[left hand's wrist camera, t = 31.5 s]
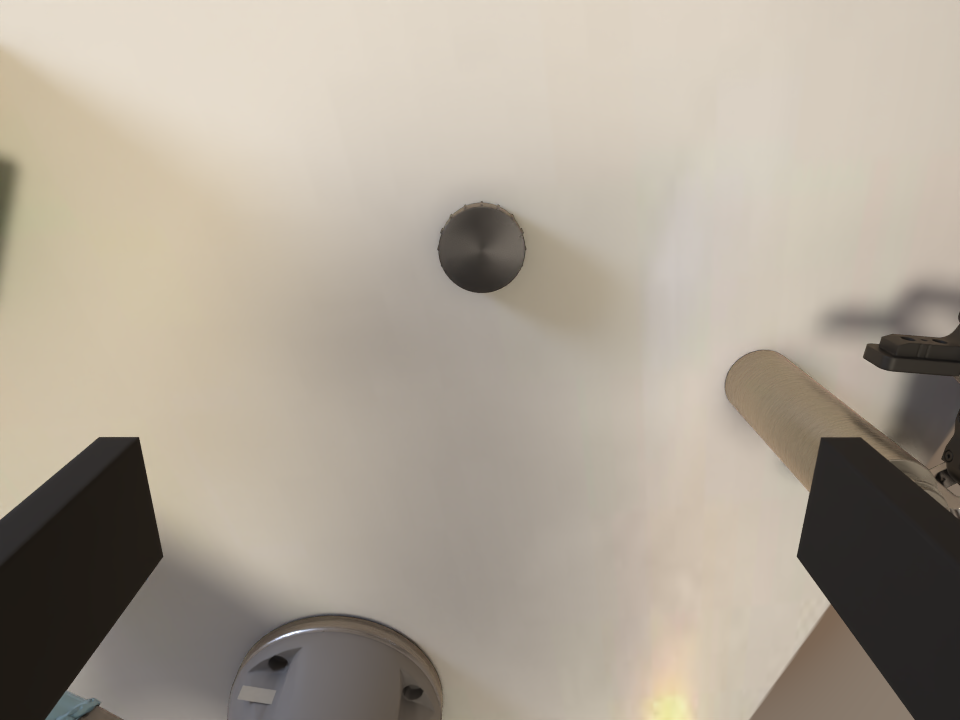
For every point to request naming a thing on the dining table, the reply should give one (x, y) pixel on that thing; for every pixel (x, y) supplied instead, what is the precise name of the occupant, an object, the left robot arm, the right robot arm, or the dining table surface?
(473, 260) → the lid
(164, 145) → the dining table surface
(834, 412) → the grey metal cylinder
